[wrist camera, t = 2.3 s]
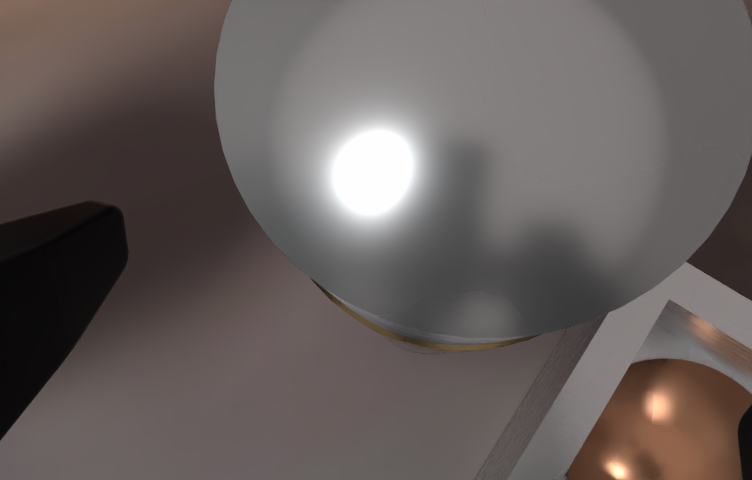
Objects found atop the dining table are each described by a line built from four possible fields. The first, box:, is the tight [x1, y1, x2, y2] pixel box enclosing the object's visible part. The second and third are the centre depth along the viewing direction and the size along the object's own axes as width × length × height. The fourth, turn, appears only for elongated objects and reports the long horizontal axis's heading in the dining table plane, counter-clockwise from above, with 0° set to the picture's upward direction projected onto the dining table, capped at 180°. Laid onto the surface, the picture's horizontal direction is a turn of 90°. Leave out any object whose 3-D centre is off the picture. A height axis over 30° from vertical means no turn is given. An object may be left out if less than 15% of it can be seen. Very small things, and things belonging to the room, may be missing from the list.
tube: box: [214, 0, 752, 354], centre depth 11 cm, size 4×4×13 cm
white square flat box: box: [475, 262, 752, 480], centre depth 14 cm, size 8×8×3 cm
